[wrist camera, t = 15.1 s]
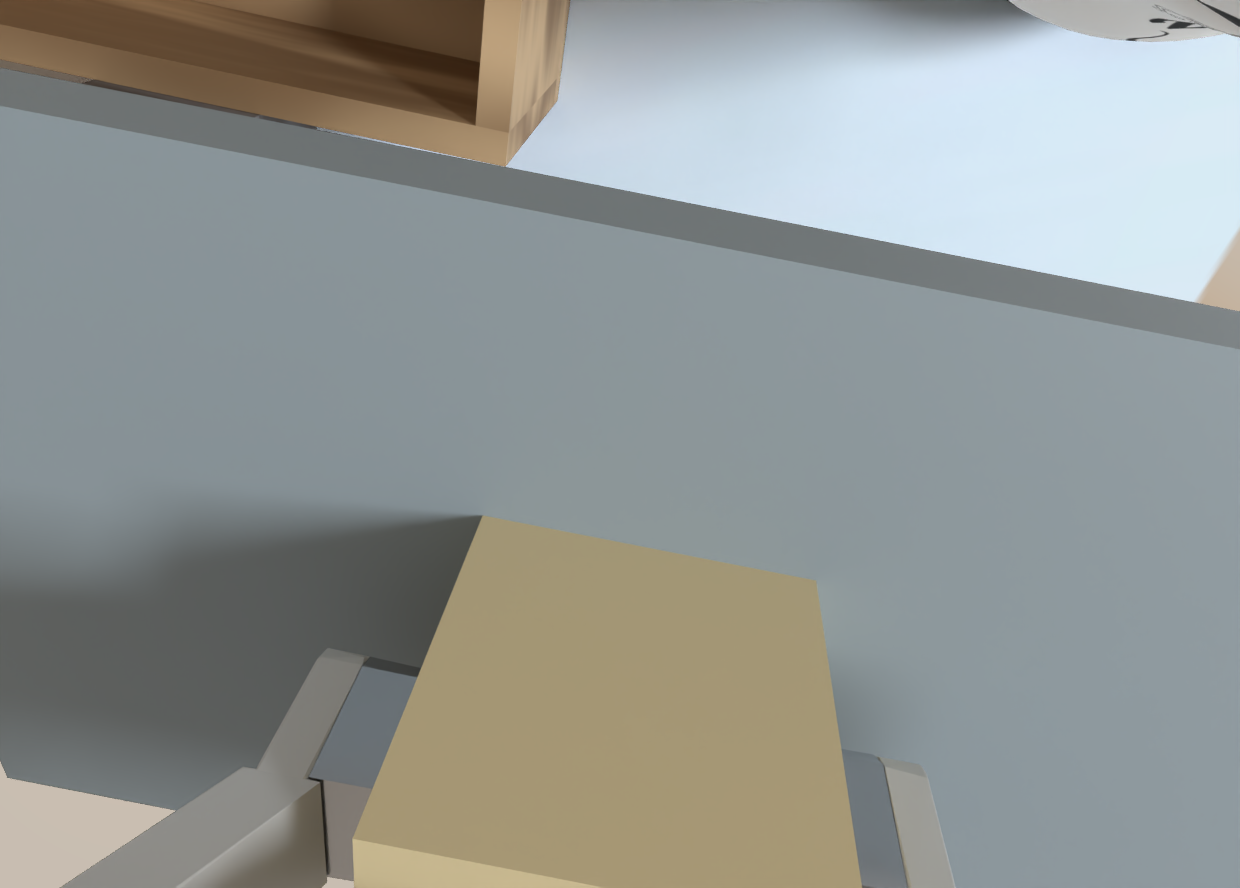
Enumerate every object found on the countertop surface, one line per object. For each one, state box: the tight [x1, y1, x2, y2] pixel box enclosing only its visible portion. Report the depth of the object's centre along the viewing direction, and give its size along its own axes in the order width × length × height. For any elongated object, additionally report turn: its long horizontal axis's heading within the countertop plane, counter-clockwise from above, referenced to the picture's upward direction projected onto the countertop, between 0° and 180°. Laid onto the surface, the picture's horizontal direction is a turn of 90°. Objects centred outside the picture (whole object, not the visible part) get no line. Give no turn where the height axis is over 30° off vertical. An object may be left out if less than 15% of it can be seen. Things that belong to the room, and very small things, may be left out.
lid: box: [0, 68, 1240, 888], centre depth 10 cm, size 11×19×6 cm, turn 81°
